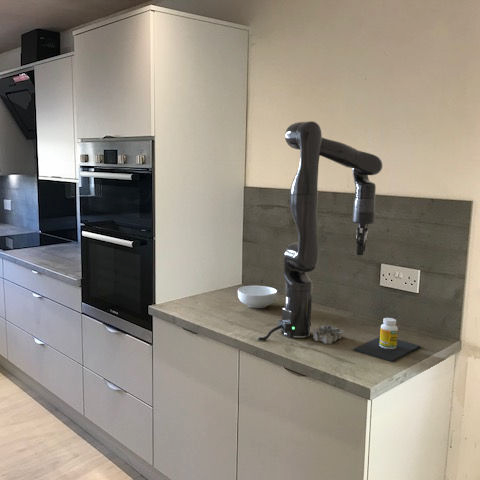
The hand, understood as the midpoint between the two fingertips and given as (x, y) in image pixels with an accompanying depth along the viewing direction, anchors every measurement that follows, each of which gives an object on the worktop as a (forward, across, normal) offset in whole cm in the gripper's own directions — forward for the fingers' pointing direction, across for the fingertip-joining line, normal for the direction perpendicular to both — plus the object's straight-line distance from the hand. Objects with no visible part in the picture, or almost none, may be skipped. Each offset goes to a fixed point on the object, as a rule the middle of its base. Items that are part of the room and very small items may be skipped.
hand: (360, 253), depth 197 cm
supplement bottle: (+28, +22, +12) cm, 37 cm away
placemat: (+28, +22, +12) cm, 38 cm away
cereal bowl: (+28, -8, -41) cm, 51 cm away
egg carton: (+28, +21, -8) cm, 36 cm away
